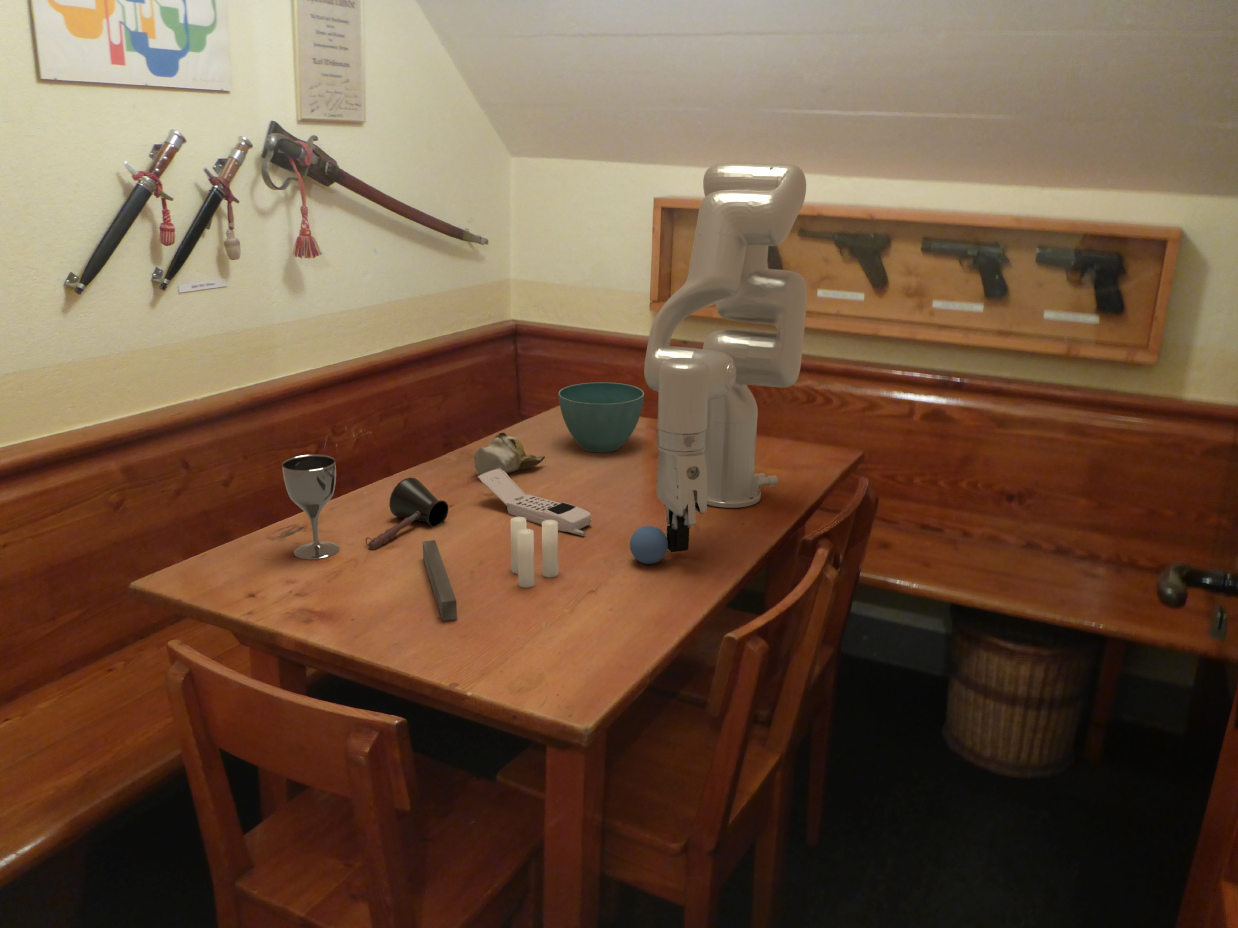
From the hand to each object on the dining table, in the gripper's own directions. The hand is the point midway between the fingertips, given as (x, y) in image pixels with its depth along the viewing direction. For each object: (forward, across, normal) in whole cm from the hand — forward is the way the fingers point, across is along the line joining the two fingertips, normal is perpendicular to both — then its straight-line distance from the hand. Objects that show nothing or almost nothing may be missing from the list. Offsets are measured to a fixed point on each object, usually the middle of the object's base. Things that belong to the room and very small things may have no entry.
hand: (677, 549), depth 155 cm
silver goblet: (+2, +21, +54) cm, 58 cm away
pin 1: (+2, +4, +25) cm, 25 cm away
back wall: (+2, +2, +38) cm, 38 cm away
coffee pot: (+2, +26, +40) cm, 48 cm away
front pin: (+2, +1, +21) cm, 21 cm away
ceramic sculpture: (+2, +50, +16) cm, 53 cm away
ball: (-1, 0, +5) cm, 5 cm away
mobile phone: (+2, +25, +16) cm, 30 cm away
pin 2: (+2, -1, +25) cm, 25 cm away
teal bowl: (+2, +60, -7) cm, 61 cm away
